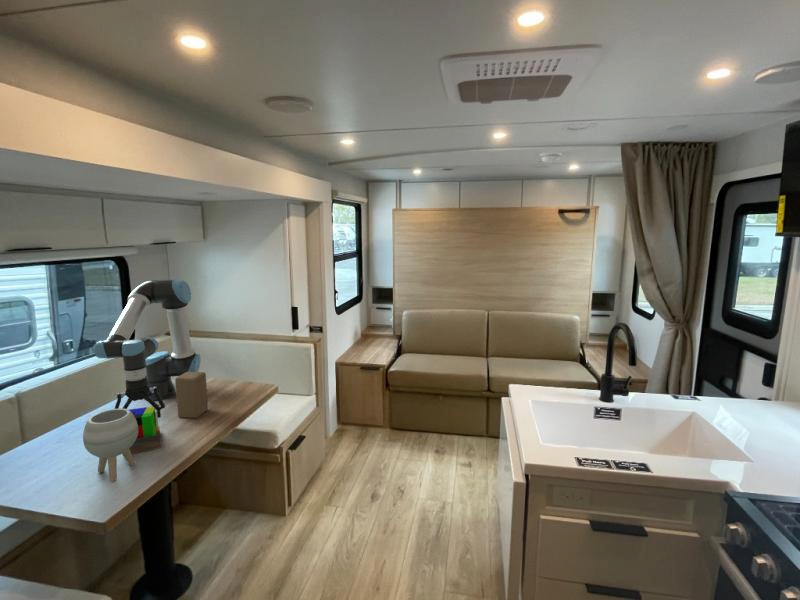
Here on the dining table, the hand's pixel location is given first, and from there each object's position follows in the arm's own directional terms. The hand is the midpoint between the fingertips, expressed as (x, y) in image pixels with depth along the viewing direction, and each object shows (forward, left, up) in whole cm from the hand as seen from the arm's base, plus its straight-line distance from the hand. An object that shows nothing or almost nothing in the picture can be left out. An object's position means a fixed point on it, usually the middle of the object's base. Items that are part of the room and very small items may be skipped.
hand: (141, 428), depth 166 cm
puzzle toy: (0, 0, -3) cm, 3 cm away
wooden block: (-20, +21, -7) cm, 30 cm away
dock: (0, 0, -7) cm, 7 cm away
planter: (+19, -8, -7) cm, 22 cm away
